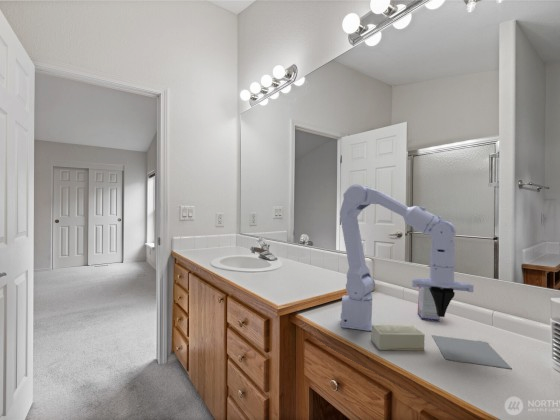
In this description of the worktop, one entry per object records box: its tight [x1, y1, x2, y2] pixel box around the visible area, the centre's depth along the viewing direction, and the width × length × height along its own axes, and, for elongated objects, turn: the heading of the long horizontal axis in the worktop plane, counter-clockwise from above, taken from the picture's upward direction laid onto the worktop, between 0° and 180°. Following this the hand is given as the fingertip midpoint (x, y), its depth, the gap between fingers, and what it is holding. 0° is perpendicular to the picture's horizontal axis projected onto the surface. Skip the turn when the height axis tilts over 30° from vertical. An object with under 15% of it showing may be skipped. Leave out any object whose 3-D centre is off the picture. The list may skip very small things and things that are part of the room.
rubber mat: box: [431, 334, 513, 370], centre depth 77 cm, size 14×14×1 cm
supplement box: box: [417, 287, 441, 322], centre depth 100 cm, size 6×6×12 cm
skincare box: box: [370, 324, 426, 351], centre depth 79 cm, size 6×4×12 cm
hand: (440, 315), depth 78 cm, fingers closed
